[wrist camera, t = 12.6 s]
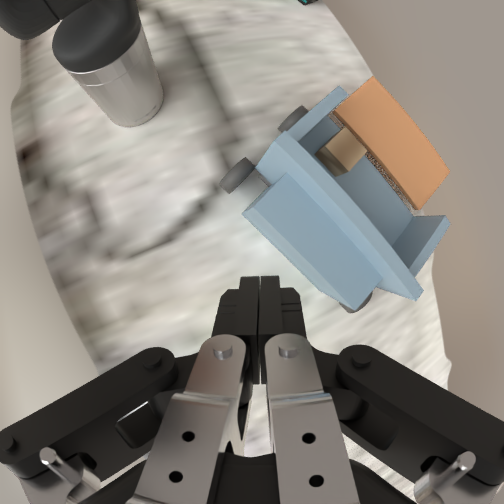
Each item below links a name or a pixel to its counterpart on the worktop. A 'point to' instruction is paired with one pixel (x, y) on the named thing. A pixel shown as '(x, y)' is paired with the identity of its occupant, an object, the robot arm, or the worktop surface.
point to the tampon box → (306, 1)
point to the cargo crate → (341, 152)
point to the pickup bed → (336, 215)
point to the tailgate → (393, 141)
